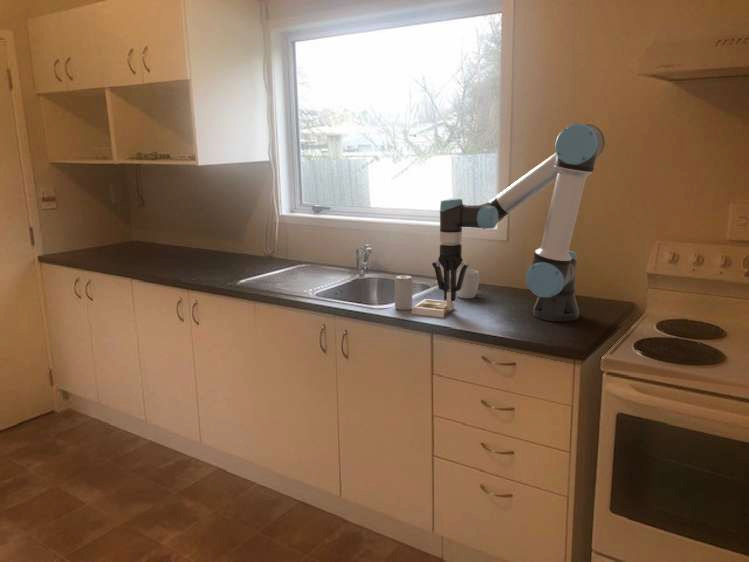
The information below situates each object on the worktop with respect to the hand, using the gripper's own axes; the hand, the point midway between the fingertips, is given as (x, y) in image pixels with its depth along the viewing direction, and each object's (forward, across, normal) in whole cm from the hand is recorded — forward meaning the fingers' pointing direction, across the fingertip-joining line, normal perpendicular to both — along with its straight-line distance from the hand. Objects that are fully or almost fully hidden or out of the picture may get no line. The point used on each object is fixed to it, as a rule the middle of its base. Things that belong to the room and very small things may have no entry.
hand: (449, 309), depth 219 cm
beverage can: (+2, +17, +1) cm, 17 cm away
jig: (+1, +6, 0) cm, 6 cm away
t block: (+1, +5, 0) cm, 5 cm away
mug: (+2, +1, -27) cm, 27 cm away
